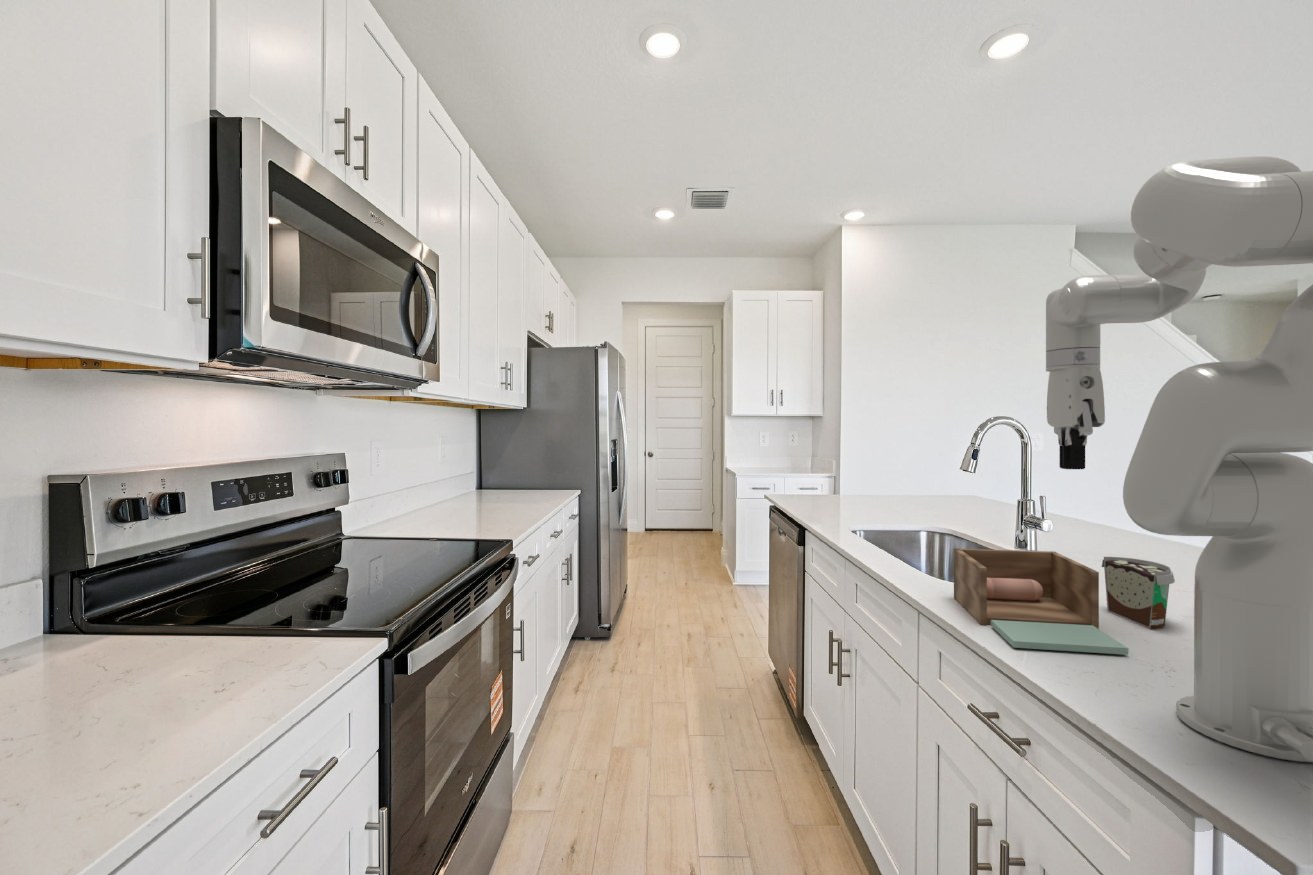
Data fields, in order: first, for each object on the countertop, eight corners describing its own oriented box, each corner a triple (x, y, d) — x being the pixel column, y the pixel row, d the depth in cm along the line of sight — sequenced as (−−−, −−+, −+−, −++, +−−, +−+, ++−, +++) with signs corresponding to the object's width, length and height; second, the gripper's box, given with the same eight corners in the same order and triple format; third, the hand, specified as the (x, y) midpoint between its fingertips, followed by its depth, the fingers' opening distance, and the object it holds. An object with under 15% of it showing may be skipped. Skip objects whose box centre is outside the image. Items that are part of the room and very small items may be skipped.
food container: (1195, 632, 95) (1195, 572, 95) (1157, 632, 95) (1158, 572, 95) (1134, 608, 107) (1134, 555, 107) (1101, 608, 107) (1101, 555, 107)
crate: (1098, 631, 96) (1098, 572, 95) (980, 624, 99) (980, 567, 99) (1054, 602, 111) (1054, 551, 111) (953, 597, 115) (953, 548, 115)
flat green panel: (1093, 631, 95) (1128, 654, 85) (990, 625, 98) (1013, 647, 88) (1093, 625, 95) (1128, 648, 85) (990, 619, 98) (1013, 640, 88)
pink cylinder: (1047, 604, 107) (1047, 582, 106) (982, 600, 109) (982, 580, 109) (1037, 597, 110) (1037, 577, 110) (975, 594, 113) (975, 574, 113)
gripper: (1123, 355, 89) (1123, 472, 89) (1075, 364, 104) (1075, 465, 104) (1069, 357, 91) (1068, 472, 91) (1029, 366, 105) (1029, 465, 106)
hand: (1072, 468), depth 98 cm, fingers closed
